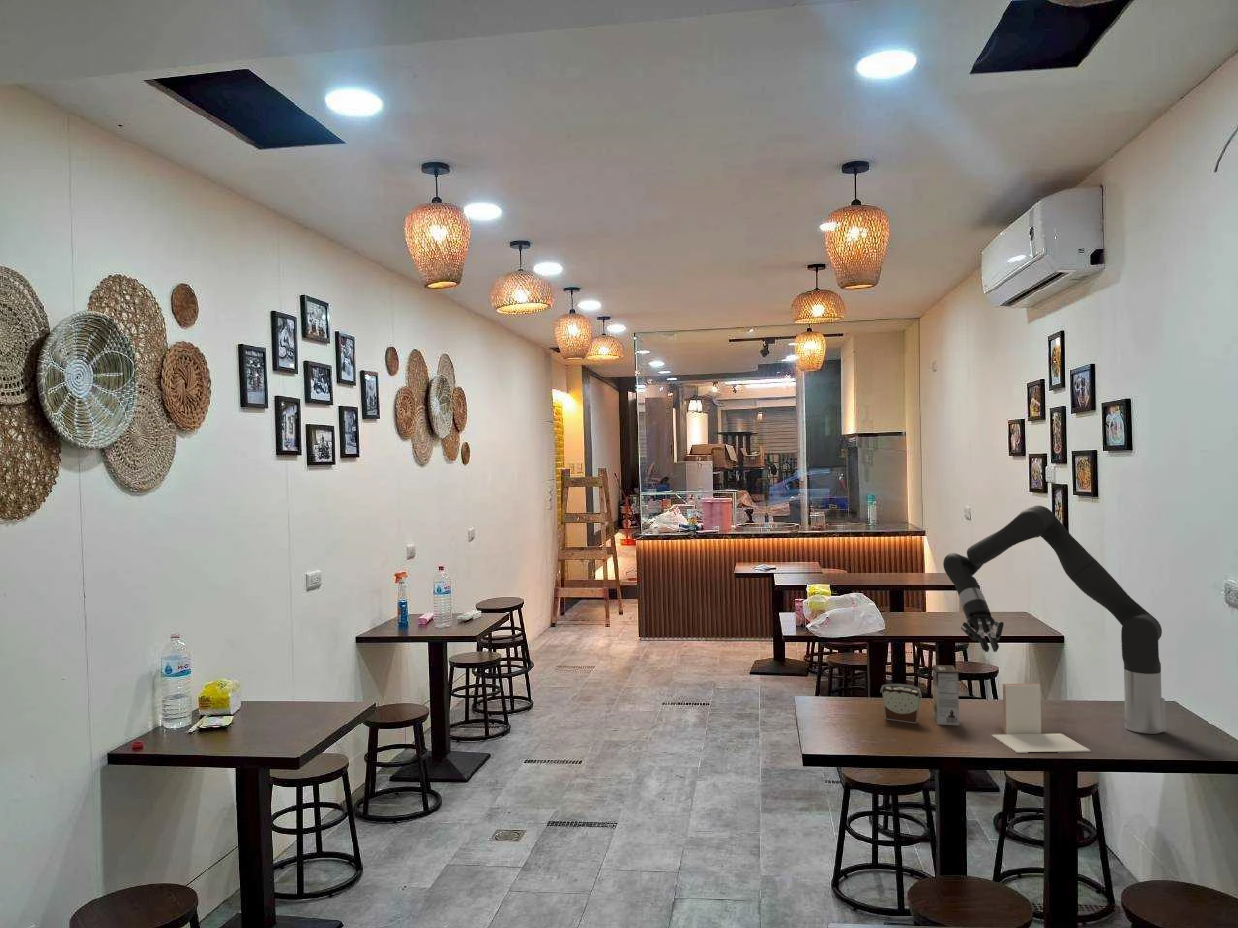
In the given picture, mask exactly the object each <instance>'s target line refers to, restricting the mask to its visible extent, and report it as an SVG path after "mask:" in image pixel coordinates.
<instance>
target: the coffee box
mask: <svg viewBox="0 0 1238 928" xmlns="http://www.w3.org/2000/svg"><path fill="white" fill-rule="evenodd" d="M959 690H960V689H959V672H958V670H957V668H956V667H955V665H954V664H953V665H952V664H951V665H949V664H948V665H946V664H945V665H943V664H938V665H937V664H933V665H932V703H933V704H932V705H933V707H932V708H933V717H934V719H935V721H936V723H937V725H939V726H940V725H941V726H942V725H943V726H960V718H959V717H960V714H959V713H960V712H959V711H960V708H959V705H960V704H959V703H960V701H959V699H960V698H959V695H960V693H959Z"/></svg>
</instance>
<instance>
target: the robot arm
mask: <svg viewBox="0 0 1238 928" xmlns="http://www.w3.org/2000/svg"><path fill="white" fill-rule="evenodd" d="M1039 537H1041V539H1043V540H1044V541H1045V542H1046V543H1047V544H1048V545H1049V546H1050V547H1051V548H1052V549H1053V551H1054V552H1055V554H1056V556H1057V558H1058V560H1059V563H1060V564H1061V565H1060V566H1061V567H1062V569H1063V571H1064V573H1065V574H1066V576H1068V578H1069V579H1070V580H1071V581H1072V582H1073V583H1074V584H1075V585H1076V586H1077V587H1078V588H1079V589H1080V591H1082V592H1083V593H1084V594H1085V595H1086V596H1087V597H1089V598H1091V599H1092V600H1093V601H1095V602H1096V603H1098V604H1099V605H1101V606H1102V607H1104V608H1105V609H1106V610H1107V611H1109V612H1110V613H1111V615H1112V616H1113V617H1114V618H1115V619H1116V620H1117V621H1118V622H1119V624H1120V625H1121V630H1120V631H1121V632H1120V633H1121V637H1120V638H1121V641H1120V642H1121V656H1122V657H1121V658H1122V662H1123V679H1124V680H1123V689H1124V695H1123V696H1124V726H1125V727H1124V728H1125V729H1126V730H1129V731H1132V732H1135V733H1140V734H1150V735H1153V734H1154V735H1155V734H1156V735H1157V734H1161V733H1166V699H1165V698H1164V697H1162V664H1161V661H1160V657H1159V655H1160V653H1159V650H1160V649H1159V640H1160V639H1161V637H1162V634H1163V630H1162V625H1161V624H1160V622H1159V621H1158V620H1157V618H1155V616H1153V615H1152V614H1151V613H1149V612H1148V611H1147V610H1146V609H1145V608H1144V607H1142V606H1141V605H1140V604H1139V603H1138V602H1136V601H1135V600H1134V599H1133V598H1132V597H1131V596H1130V595H1129V594H1128V593H1127V592H1126V591H1125V590H1124V588H1123V587H1122V586H1121V585H1120V584H1119V583H1118V581H1117V580H1115V578H1114V577H1113V576H1112V575H1111V574H1110V573H1109V572H1108V571H1107V570H1106V568H1104V567H1103V565H1102V564H1101V563H1099V561H1098V560H1097V559H1095V557H1093V556H1092V555H1091V553H1090V552H1088V551H1087V549H1086V548H1085V547H1084V546H1083V545H1082V544H1081V543H1080V542H1079V541H1078V540H1077V539H1075V537H1073V536H1072V534H1070V532H1069V531H1068V530H1067V528H1066V527H1065V526H1064V525H1063V523H1062V522H1061V521H1060V520H1059V518H1058V517H1057V516H1056V515H1055V514H1054V513H1053V511H1052V510H1050V509H1049V508H1048V507H1046V506H1043V505H1034V506H1030V507H1028V508H1027V509H1025V510H1022V511H1021V512H1020V513H1019V514H1018V515H1017V516H1016V517H1014V518H1013V519H1012V520H1011V521H1010V522H1009V523H1008V524H1006V525H1005V526H1004V527H1001V529H999V530H998V531H996V532H994V533H992V534H990V535H989V536H986V537H985V538H982V539H980V540H979V541H978V542H976V543H974V544H972V545H971V546H970V547H968V548H967V549H966V555H967V556H964V555H962V554H958V553H956V552H951V553H948V554H947V555H946V556H945V557H944V559H943V569H944V572H945V574H946V576H947V577H948V578H949V580H950V581H951V583H952V584H953V586H955V588H956V592H957V594H958V597H959V602H960V604H961V607H962V610H963V613H964V615H965V618H966V621H965V622H962V625H961V627H960V629H961V630H962V631H963V632H964V633H965V634H966V635H967V636H968V637H969V638H970V639H971V640H972V641H973V642H976V641H977V642H979V644H980V646H981V649H982V650H983V651H984V653H989V650H990V646H991V648H992V651H993V653H997V652H998V650H999V648H1000V645H999V643H998V641H1000V638H1001V637H1002V633H1003V628H1004V625H1005V623H1004V622H1003V621H1000V622H998V621H996V620H995V619H994V618H993V617H992V614H991V610H990V608H989V606H988V603H987V601H986V599H985V596H984V594H983V592H982V590H981V587H980V586H979V583H978V580H977V579H976V577H975V576H974V575H975V574H976V573H977V572H978V571H979V570H980V569H981V568H982V567H983V566H984V565H985V564H987V563H988V562H990V561H992V560H993V559H996V558H997V557H999V556H1000V555H1002V554H1003V553H1004V552H1005V551H1007V550H1008V549H1009V548H1012V547H1014V546H1015V545H1017V544H1020V543H1023V542H1025V541H1029V540H1031V539H1034V538H1039ZM993 627H995V630H996V631H995V630H994V628H993ZM984 633H985V634H984ZM985 635H986V637H988V639H989V642H990V645H989V644H988V643H989V642H988V641H987V639H986V637H985Z"/></svg>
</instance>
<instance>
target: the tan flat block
mask: <svg viewBox="0 0 1238 928" xmlns="http://www.w3.org/2000/svg"><path fill="white" fill-rule="evenodd" d="M1041 703H1042V702H1041V684H1039V683H1035V682H1034V683H1003V684H1002V711H1003V712H1002V714H1003V715H1002V717H1003V719H1002V720H1003V725H1002V726H1003V734H1042V709H1041V708H1042V704H1041Z"/></svg>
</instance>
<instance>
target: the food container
mask: <svg viewBox="0 0 1238 928" xmlns="http://www.w3.org/2000/svg"><path fill="white" fill-rule="evenodd" d="M879 693H881V694H882V701H883V702H882V703H883V709H884V717H885V720H890V721H895V722H896V721H897V722H901V723H902V722H903V723H908V724H918V719H919V718H918V717H919V706H920V699H922V697H923V696H922V692H921V689H920V688H919V687H917V686H914V685H911V684H905V683H904V684H902V683H888V684H882V685H881V688H880V691H879Z"/></svg>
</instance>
